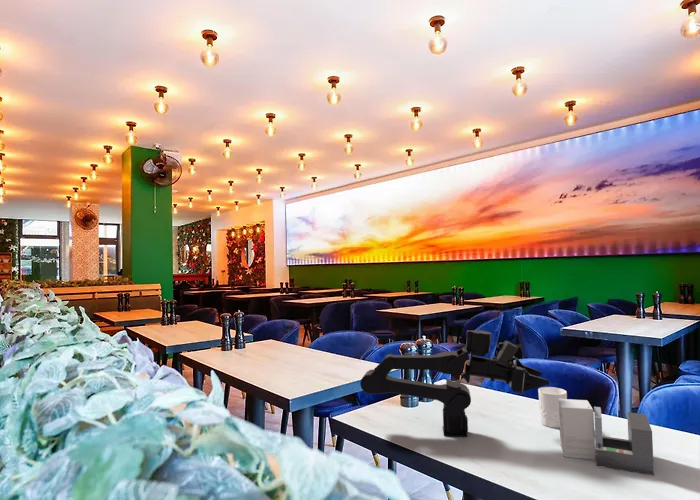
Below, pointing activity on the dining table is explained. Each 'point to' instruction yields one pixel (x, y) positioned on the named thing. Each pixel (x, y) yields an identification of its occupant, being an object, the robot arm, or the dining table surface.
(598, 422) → the pad
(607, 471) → the dining table surface
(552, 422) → the white cup
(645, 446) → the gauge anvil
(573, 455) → the supplement box
